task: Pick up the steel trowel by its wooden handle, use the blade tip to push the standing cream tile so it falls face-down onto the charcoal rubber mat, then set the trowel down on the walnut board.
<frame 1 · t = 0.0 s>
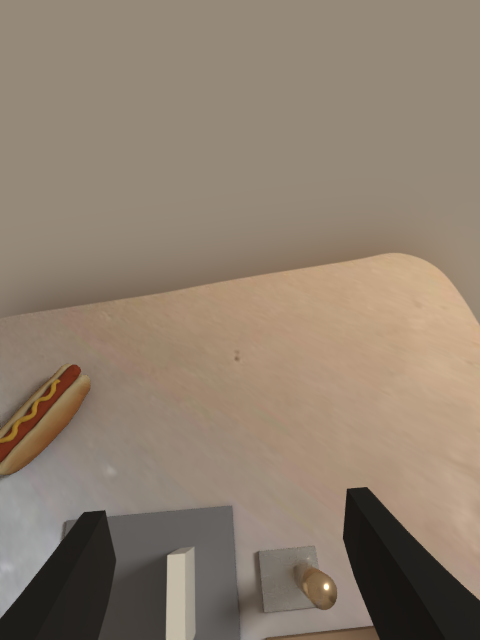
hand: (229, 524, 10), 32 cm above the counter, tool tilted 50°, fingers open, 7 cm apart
tile: (187, 588, 35), resting on mat
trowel: (304, 575, 36), on the counter
food: (50, 422, 44), on the counter
mat: (148, 591, 35), on the counter
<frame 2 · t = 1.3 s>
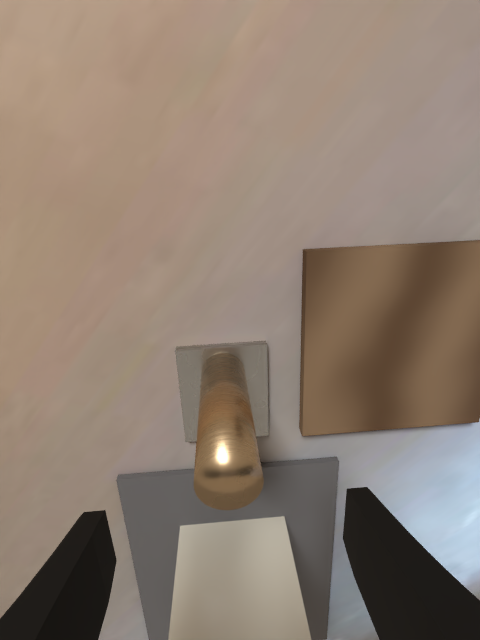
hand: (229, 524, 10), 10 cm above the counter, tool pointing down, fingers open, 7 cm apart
tile: (233, 529, 24), resting on mat
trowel: (222, 367, 20), on the counter
mat: (235, 564, 25), on the counter
board: (395, 340, 20), on the counter
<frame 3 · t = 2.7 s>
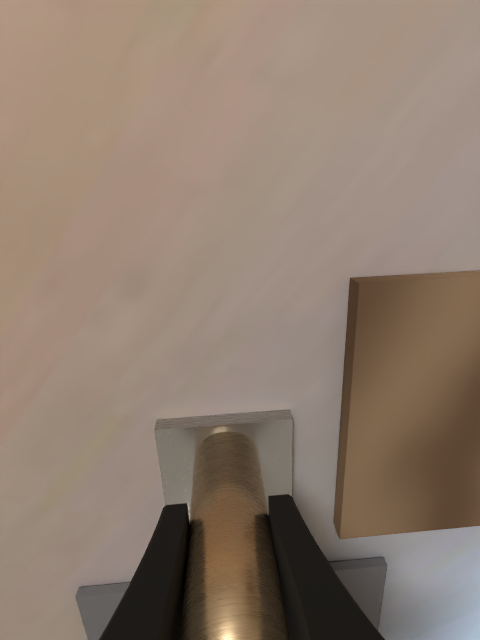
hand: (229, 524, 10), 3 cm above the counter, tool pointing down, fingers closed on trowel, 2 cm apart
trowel: (226, 447, 14), on the counter, touching gripper
board: (476, 406, 14), on the counter
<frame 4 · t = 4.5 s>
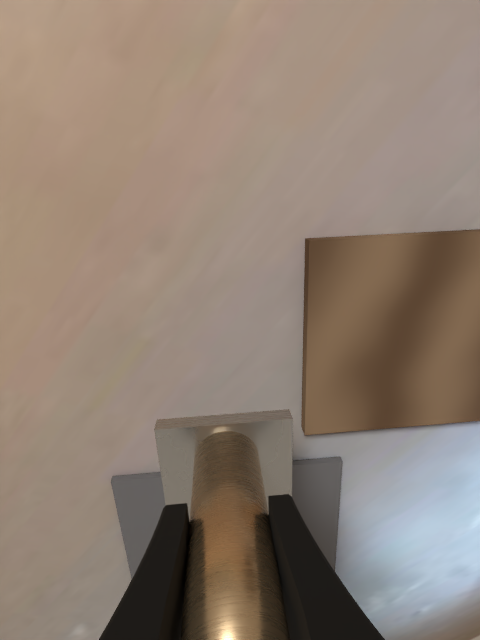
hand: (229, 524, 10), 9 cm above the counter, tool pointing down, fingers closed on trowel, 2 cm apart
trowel: (226, 446, 14), point 6 cm above the counter, touching gripper
mat: (235, 568, 24), on the counter
board: (401, 335, 19), on the counter
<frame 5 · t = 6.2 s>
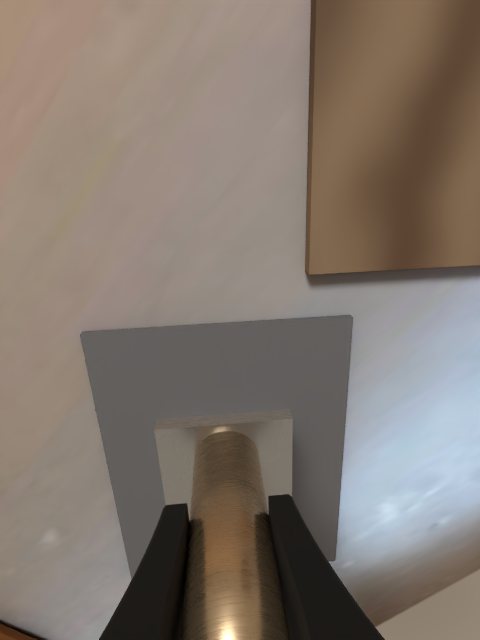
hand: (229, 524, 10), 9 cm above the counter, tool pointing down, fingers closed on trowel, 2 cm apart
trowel: (226, 446, 14), point 6 cm above the counter, touching gripper
mat: (228, 461, 21), on the counter
board: (425, 146, 16), on the counter
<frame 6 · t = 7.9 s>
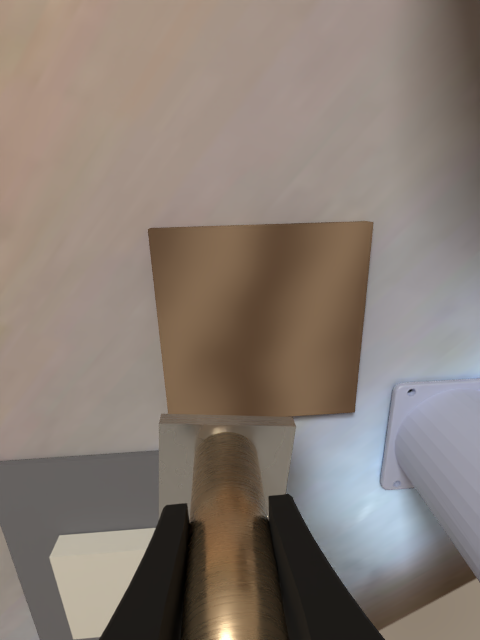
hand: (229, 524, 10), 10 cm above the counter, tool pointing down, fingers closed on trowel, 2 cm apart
tile: (110, 541, 22), point 1 cm above the counter, tilted 90°, touching mat
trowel: (225, 447, 14), point 7 cm above the counter, touching gripper
mat: (121, 557, 25), on the counter
board: (261, 326, 20), on the counter
when the fingers open (6 cm above the counter, at t = 9.3 s): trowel drops 1 cm, resting on board.
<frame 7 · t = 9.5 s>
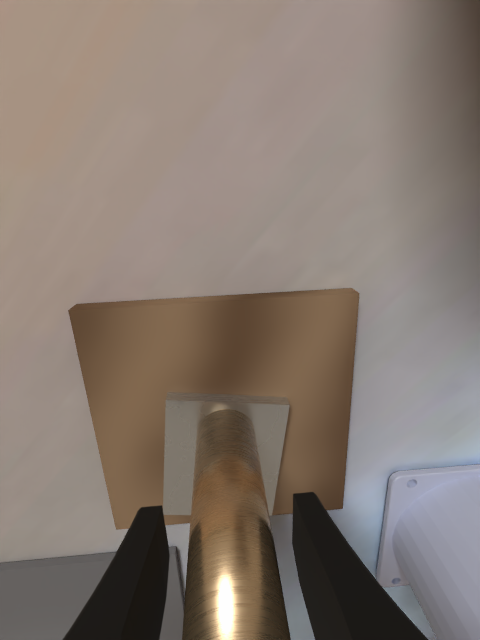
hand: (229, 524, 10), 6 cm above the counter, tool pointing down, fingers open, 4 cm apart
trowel: (225, 424, 15), point 1 cm above the counter, touching board
board: (224, 412, 16), on the counter
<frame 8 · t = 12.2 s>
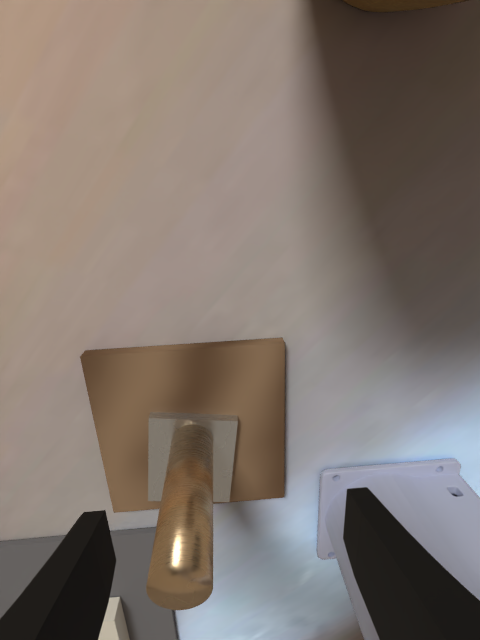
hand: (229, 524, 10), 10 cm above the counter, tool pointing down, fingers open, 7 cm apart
tile: (66, 613, 24), point 1 cm above the counter, tilted 90°, touching mat
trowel: (193, 435, 21), point 1 cm above the counter, touching board
mat: (81, 622, 27), on the counter
board: (193, 425, 21), on the counter
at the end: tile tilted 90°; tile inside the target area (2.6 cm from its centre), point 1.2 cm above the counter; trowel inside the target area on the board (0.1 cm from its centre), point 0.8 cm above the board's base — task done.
